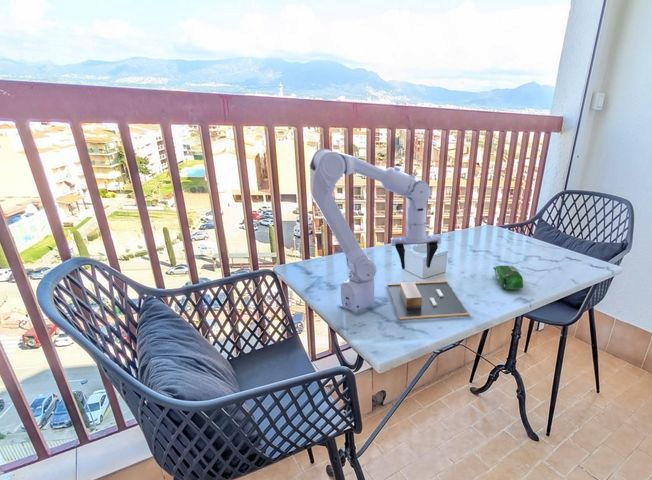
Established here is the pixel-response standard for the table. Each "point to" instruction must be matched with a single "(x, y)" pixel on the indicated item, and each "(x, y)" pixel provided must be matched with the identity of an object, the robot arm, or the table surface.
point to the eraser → (410, 295)
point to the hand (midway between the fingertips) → (415, 267)
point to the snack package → (508, 277)
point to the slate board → (429, 302)
